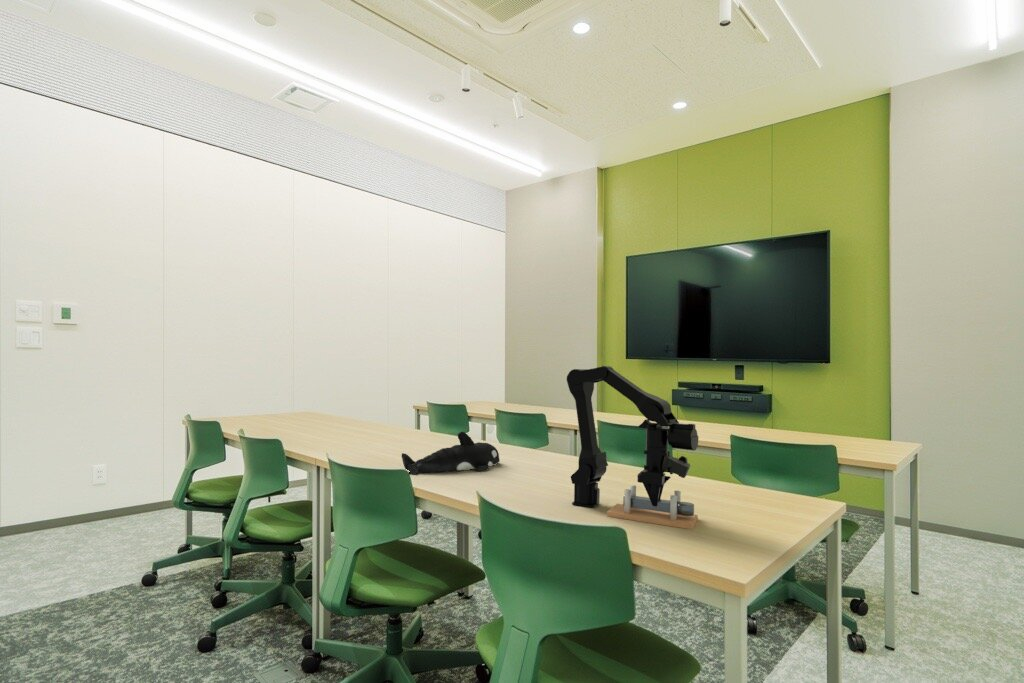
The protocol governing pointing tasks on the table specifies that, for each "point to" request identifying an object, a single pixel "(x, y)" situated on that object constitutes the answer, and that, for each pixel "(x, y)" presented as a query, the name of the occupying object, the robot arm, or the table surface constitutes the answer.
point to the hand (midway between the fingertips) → (656, 504)
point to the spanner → (661, 505)
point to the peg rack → (652, 512)
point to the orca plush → (455, 458)
